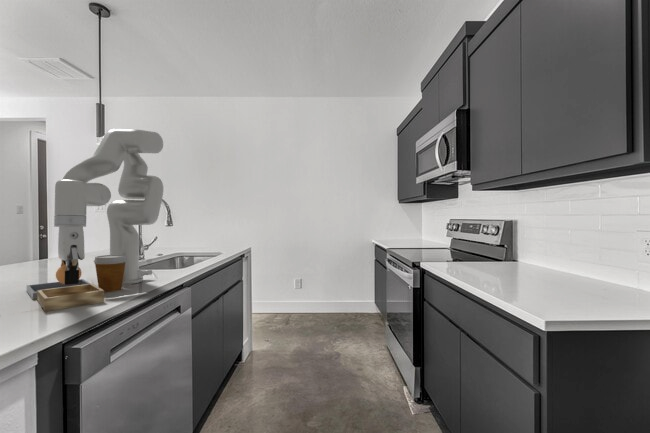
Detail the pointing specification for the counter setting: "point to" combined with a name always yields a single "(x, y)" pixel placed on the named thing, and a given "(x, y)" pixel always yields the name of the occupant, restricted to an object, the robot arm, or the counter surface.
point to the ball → (63, 274)
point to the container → (49, 287)
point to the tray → (69, 296)
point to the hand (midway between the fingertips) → (69, 282)
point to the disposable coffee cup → (110, 271)
